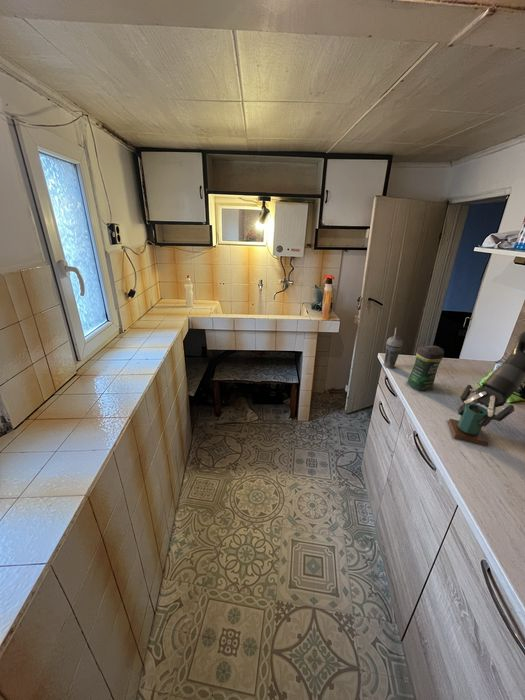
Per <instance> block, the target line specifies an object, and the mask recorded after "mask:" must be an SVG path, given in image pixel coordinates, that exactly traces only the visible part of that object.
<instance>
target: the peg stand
mask: <svg viewBox="0 0 525 700" xmlns="http://www.w3.org/2000/svg"><path fill="white" fill-rule="evenodd" d="M472 411H474V412H476V413H480V410H478V409H476V408H472ZM459 420H460V419H459ZM459 420H458V419H454V418H449V419H448V425H449V428H450V431H451V433H452V436H453V438H454V439H456V440H460V441H464V442H469V443H473V444H476V445H481V446H484V447H487V445H488V444H489V442H488V439H487V437H486V436H485V433H484V431H483V430H482V429H481V431H480V433H479V434H477V435H472V434H468V433H465V432H464V431H462V430H461V429H459V427H458V422H459Z"/></svg>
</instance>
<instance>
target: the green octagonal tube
mask: <svg viewBox="0 0 525 700" xmlns="http://www.w3.org/2000/svg"><path fill="white" fill-rule="evenodd" d="M472 408H476V409H478V410H480V413H476V412H474V411H472ZM486 415H488V410H487V408H486V407H482V406H481V405H479V404H467V405H465V408H464V410H463V412H462V415H460V418H459V422H458V427H459V429H461V430H462V431H464V432H465V433H468V434H472V435H477V434H479V433H480V431H481V430H482V428H483V427H480V426H479V425H478V424H479V422H480V421H481V420H482V419H483V418H484V417H485V416H486Z"/></svg>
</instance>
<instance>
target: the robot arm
mask: <svg viewBox="0 0 525 700" xmlns="http://www.w3.org/2000/svg"><path fill="white" fill-rule="evenodd" d="M524 381H525V331H523V332H521V333H520V334H519V335H518V337H517V339H516V342H515V344H514V347H513V349H512V350H511V352H510V354H509V356H508V357H507V358H506V359H505V360H504V362H502V364H500V365H499V366H498V367H497V368H496V369H495V370H494V371H493V372H492V373H491V374H490V376H489V377H488V378H487V379H486V380H485V381H484V382H483V384H481V386H479V387H475V386H472V385H471V384H467V385H466V387H465V388H464V390H463V392H462V393H461V395H460V397H459V398H460V401H461V403H462V405H460V406H459V408H458V409H457V412H458V415H459V416H461V415H462V412H463V410H464V408H465V405H467V404H475V405H479V404H480V405H483V406H484V407H485V408H486V409H487V408H488V410H487V412H488V415H486V416H485V417H484V418H483V419H482V420H481V421H480V422H479V424H478V425H479V426H480V427H482V428H483V427H484V428H485V427H487V426H488V424H489V423H490V422H491V421H497V422H502V421H503V420H504V419H505V418H507V417H509V416H510V415H511V414H512V413H514V412H515V406H514V405H513V404H509V403H508V402H507V401H508V400H509V399H510V397H512V395H513V394H514V393H515V392H516V391H517V390H518V389H519V387H520V386H521V385H522V384H523V383H524ZM474 393H475V395H473V396H471V397H470V395H471V394H474ZM469 397H470V398H469ZM500 407H503V409H502V410H501V411H499V412H498V413H497V414H496V409H497V408H500Z"/></svg>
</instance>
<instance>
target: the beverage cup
mask: <svg viewBox="0 0 525 700" xmlns="http://www.w3.org/2000/svg"><path fill="white" fill-rule="evenodd" d="M403 343H404V342H403V340H402V338H401V337H400V336H397V327H395V328H394V335H393V336H390V337H389V338H388V339H387V340H386V343H385V354H384V360H383V366H384V367H385V368H387V369H395V368H394V367H395V365H396V363H397V360H398V357H399V355H400V352H401V350H402V348H403Z"/></svg>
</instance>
